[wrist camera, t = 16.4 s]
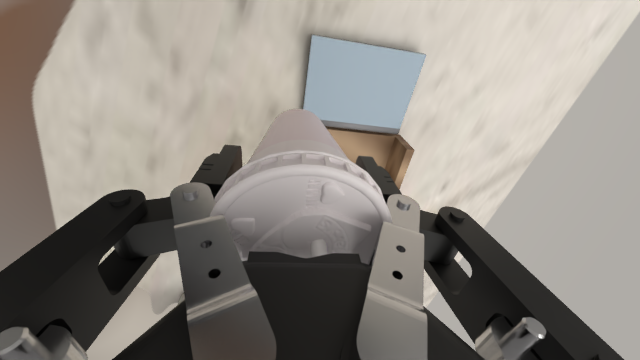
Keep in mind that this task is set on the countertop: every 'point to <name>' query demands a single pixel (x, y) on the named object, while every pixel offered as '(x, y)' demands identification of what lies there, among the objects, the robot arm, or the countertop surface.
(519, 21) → the countertop surface
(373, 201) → the smoothie
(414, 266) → the robot arm
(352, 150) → the tray
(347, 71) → the flat blue panel
